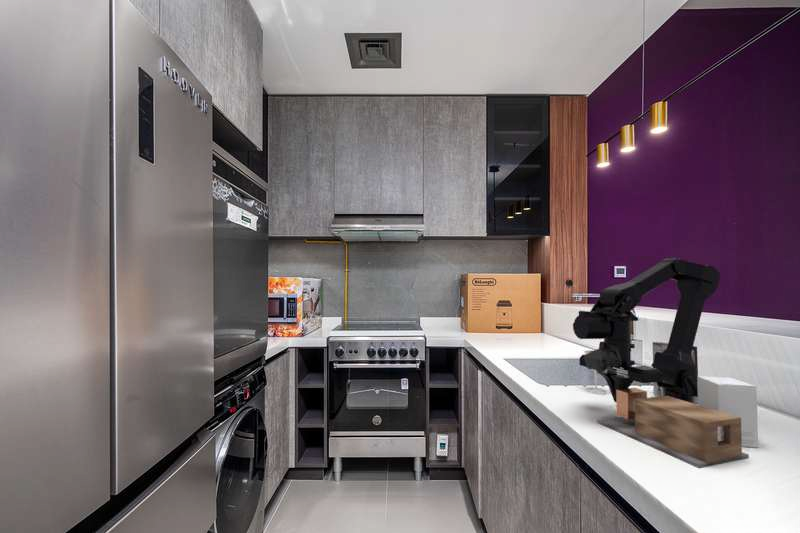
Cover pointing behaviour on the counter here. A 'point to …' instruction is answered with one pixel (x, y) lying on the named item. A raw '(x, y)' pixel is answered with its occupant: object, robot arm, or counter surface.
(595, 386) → the wineglass
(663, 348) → the coffee box
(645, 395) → the shaft
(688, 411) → the housing
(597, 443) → the counter surface
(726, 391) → the supplement box
